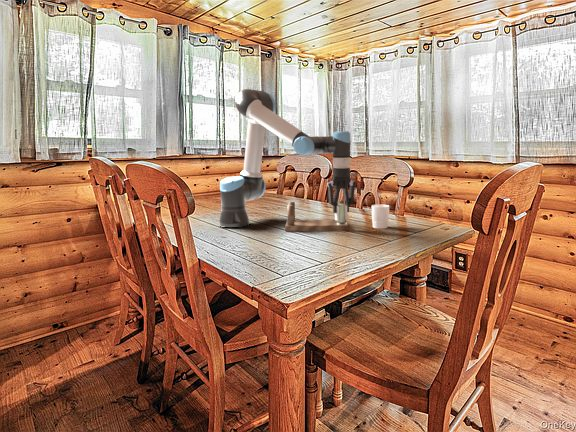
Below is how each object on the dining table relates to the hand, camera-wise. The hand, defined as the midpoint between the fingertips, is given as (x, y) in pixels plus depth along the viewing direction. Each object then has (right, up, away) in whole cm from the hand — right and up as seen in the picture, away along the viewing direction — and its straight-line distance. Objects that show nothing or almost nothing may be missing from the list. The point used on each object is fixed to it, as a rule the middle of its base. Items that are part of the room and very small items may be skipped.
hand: (341, 219), depth 171 cm
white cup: (+18, -4, +4) cm, 19 cm away
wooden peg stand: (-11, -4, +6) cm, 13 cm away
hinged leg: (0, -1, +3) cm, 3 cm away
